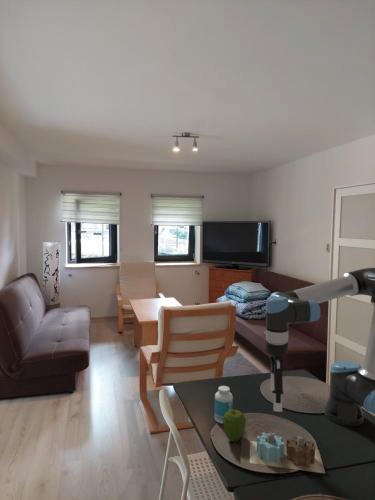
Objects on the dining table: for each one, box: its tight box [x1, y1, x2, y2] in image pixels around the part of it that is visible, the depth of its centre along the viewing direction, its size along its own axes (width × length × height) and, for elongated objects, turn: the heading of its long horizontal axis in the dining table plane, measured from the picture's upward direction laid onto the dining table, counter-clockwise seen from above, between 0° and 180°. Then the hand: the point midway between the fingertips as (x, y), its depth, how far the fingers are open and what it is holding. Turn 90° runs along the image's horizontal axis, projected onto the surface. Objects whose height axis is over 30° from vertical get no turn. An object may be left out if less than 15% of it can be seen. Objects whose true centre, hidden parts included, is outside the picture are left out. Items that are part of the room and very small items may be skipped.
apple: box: [222, 409, 247, 443], centre depth 129 cm, size 9×8×12 cm
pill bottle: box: [214, 385, 234, 425], centre depth 143 cm, size 8×7×14 cm
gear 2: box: [286, 435, 316, 467], centre depth 118 cm, size 9×9×5 cm
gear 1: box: [256, 431, 285, 463], centre depth 120 cm, size 9×9×5 cm
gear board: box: [249, 432, 326, 474], centre depth 119 cm, size 24×12×8 cm, turn 79°
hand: (276, 400), depth 121 cm, fingers open, 13 cm apart
